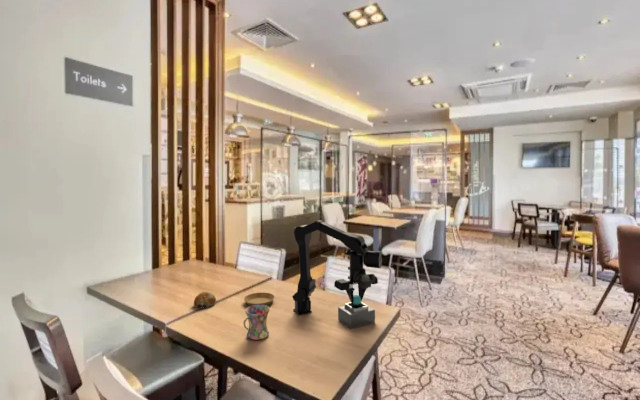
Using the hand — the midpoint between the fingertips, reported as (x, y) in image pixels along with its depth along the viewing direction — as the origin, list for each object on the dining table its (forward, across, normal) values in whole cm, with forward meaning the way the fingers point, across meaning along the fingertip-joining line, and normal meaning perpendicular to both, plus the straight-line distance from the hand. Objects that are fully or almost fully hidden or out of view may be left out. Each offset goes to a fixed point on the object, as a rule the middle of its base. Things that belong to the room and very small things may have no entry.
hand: (356, 301), depth 139 cm
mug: (+9, -42, +7) cm, 43 cm away
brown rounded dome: (+9, -54, +50) cm, 74 cm away
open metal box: (+8, 0, 0) cm, 8 cm away
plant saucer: (+9, -30, +40) cm, 51 cm away
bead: (+1, 0, 0) cm, 1 cm away
